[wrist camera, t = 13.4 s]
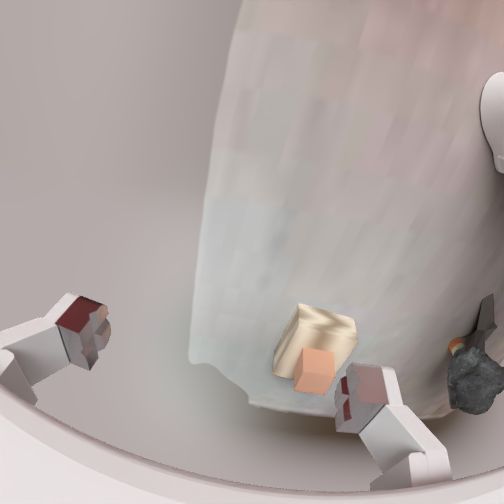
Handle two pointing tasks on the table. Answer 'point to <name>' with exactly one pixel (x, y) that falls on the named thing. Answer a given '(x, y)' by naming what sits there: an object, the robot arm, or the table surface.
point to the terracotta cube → (314, 371)
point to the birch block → (314, 338)
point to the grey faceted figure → (475, 367)
